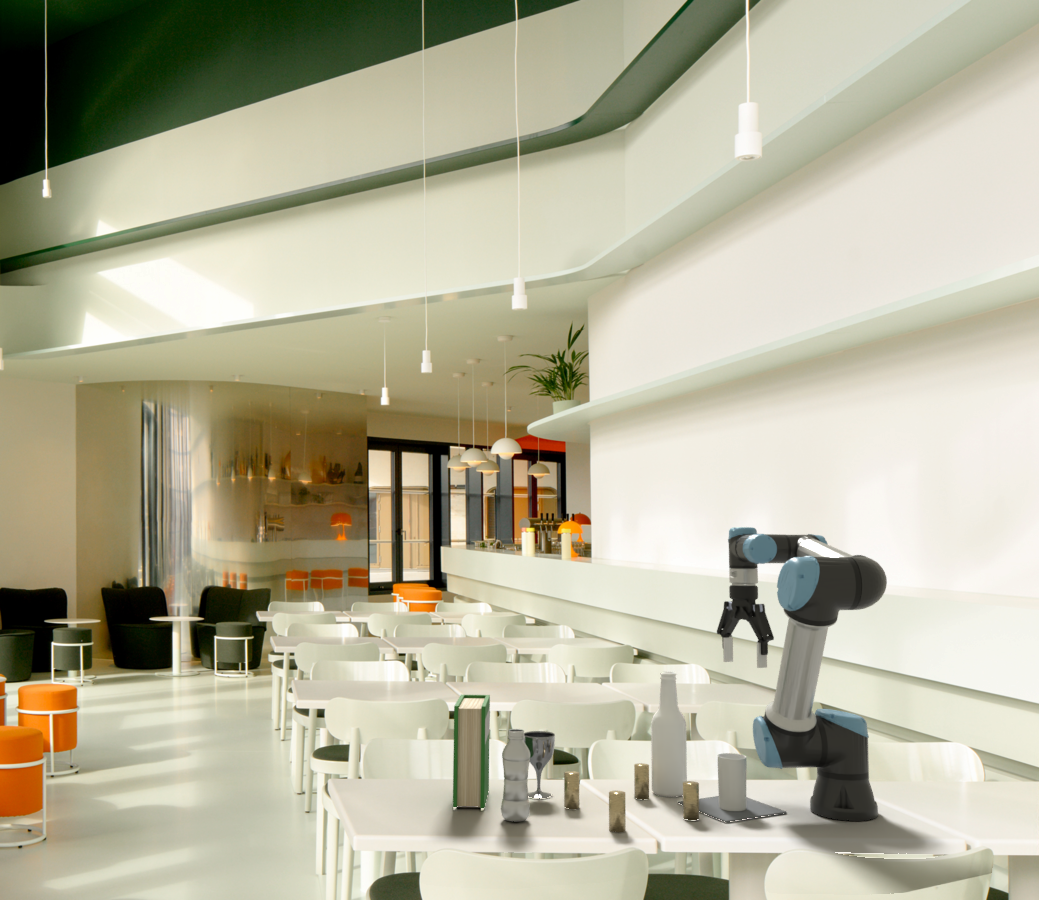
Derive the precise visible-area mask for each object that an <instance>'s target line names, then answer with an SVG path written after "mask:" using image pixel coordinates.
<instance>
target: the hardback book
mask: <svg viewBox="0 0 1039 900" xmlns="http://www.w3.org/2000/svg"><path fill="white" fill-rule="evenodd" d="M490 696H491V695H490V694H460V695H459V697H458V699H457V701H456V702H455V704H454V706H453V707H454V709H453V714H454V715H453V761H452V762H453V763H452V764H453V765H452V766H453V769H452V770H453V771H452V772H453V773H452V775H453V776H452V779H453V780H452V808H453V807H457V806H478V807H477V808H484V807H485V808H486V806H485V803H486V804H487V801H486V799H487V800H488V797H487V795H488V796H489V793H488V791H489V792H490V719H491V718H490V717H491V715H490V713H491V712H490V709H491V708H490V707H491V702H490V701H491V697H490Z"/></svg>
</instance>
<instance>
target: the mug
mask: <svg viewBox="0 0 1039 900" xmlns="http://www.w3.org/2000/svg"><path fill="white" fill-rule="evenodd" d="M717 784H718V785H717V786H718V789H717V790H718V796H719V807H720V808H721V809H723V810H726V811H735V812H736V811H744V810H745V809H746V797H747V755H744V754H740V753H733V752H725V753H724V752H723V753H719V754H717Z"/></svg>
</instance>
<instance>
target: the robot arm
mask: <svg viewBox="0 0 1039 900" xmlns="http://www.w3.org/2000/svg"><path fill="white" fill-rule="evenodd" d="M727 542H728V568H729V569H728V570H729V571H728V572H729V573H728V574H729V577H728V579H729V583H730V584H731V585H729V586H728V589H729V591H728V592H729V596H728V597H729V598H730V599H731V600H728V601H726V600H725V601H723V611H722V612H721V616H720V619H719V623H718V626H717V629H716V634H717V635H720V637H722V639H721V641H722V642H721V643H722V644H721V645H722V649H723V650H722V651H723V662H724V663H729V662H730V663H732V662H734V638H733V635H732V634H733V632H734V631H735V628H736V627H737V626H738V623H739V621H740V620H744V621H747V622H748V623H749V625H750V627H751V629H752V630H753V632H754V634H755V636H756V638H757V641H756V668H757V669H763V668H765V669H767V668H768V654H769V642H770V641H774V639H775V636H774V634H773V631H772V629H771V625H770V622H769V619H768V616H767V613H766V608H765V607H766V605H765V603H756V600H759V599H758V598H759V587H758V586H757V584H758V582H759V576H758V567H759V566H758V565H759V564H760V565H762V564H763V565H764V564H783V565H782V566H781V569H780V571H779V574H778V576H777V577H778V578H777V583H776V588H777V592H776V594H777V600H778V603H779V605H780V607H781V608H783V613H784V615H786V616H787V618H788V621H787V627H786V633H785V638H784V642H783V643H784V644H783V650H782V654H781V655H782V656H781V660H780V665H779V671H778V675H777V676H778V677H777V682H776V689H775V694H774V698H773V701H771V702H769V703H768V704H767V705H766V707H765V712H764V715H763V716H762V715H759V716H756V717H754V719H753V720H752V721H753V722H752V736H753V737H752V738H753V743H754V747H755V751H756V753H757V756H758V758H759V760H760V762H761V763H762V764H763V766H765V767H767V768H769V769H770V768H771V769H781V770H782V769H793V768H794V769H795V768H796V769H797V768H799V769H800V768H805V769H806V768H816V780H815V784H814V785H813V787H814V788H813V792H812V796H810V799H809V807H810V809H809V810H810V811H811V812H812V813H813V812H814V813H813V814H815V815H817V814H818V815H817V816H820V815H821V816H820V817H823V818H826V817H827V818H826V819H831V818H832V820H837V819H838V820H840V821H846V820H849V822H861V821H862V822H864V820H865V821H871V820H874V819H877V818H878V816H879V807H878V803H877V801H876V799H875V796H874V791H873V790H872V786H871V782H870V775H869V774H870V773H869V772H870V771H869V770H870V768H869V767H870V764H869V734H868V733H869V732H868V725H867V724H868V723H867V721H866V719H865V718H863V717H862V716H861V715H858V714H855V713H852V712H846V711H842V710H835V709H830V708H817V709H815V712H814V711H812V710H813V705H814V701H815V696H816V691H817V685H818V682H819V676H820V675H819V674H820V669H821V665H822V662H823V661H822V660H823V657H824V656H823V655H824V650H825V645H826V640H827V636H828V630H829V627H831V626H833V625H835V624H836V623H837V622H838V617H839V614H840V613H839V612H840V611H858V610H864V609H867V608H870V607H871V606H874V605H876V603H878V602H879V601H880V600H881V599H882V597H883V596H884V594H885V592H886V590H887V583H888V581H887V579H888V578H887V575H886V572H885V570H884V569H883V567H882V566H881V565H880V563H879V562H877V561H875V560H874V559H873V558H870V557H868V556H865V555H862V554H853V555H852V554H850V553H848V552H845V551H843V550H840V549H838V548H837V547H834V546H832V545H829V544H828V542H827V540H826V538H825V537H824V536H823V535H819V534H812V533H811V534H810V533H808V534H773V533H771V534H768V533H767V534H765V533H758V532H757V529H756V528H755V527H749V526H748V527H747V526H746V527H745V526H744V527H742V526H741V527H731V528H729V529H728V539H727ZM870 819H871V820H870Z"/></svg>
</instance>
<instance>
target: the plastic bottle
mask: <svg viewBox="0 0 1039 900" xmlns="http://www.w3.org/2000/svg"><path fill="white" fill-rule="evenodd" d="M524 733H525V730H524V729H521V728H511V729H508V732H507V739H508V742H507V743H506V745H505V746H504V748H503V751H502V753H501V754H502V755H501V759H502V766H503V767H502V768H503V778H504V779H503V783H504V784H503V794H502V799H501V805H500V812H501V816H502V818H503V820H505V821H507V822H508V821H509V822H513V821H514V822H515V823H517V822H518V823H519V822H524V821H526V820H528V818H529V816H530V811H531V807H530V801H529V798H528V793H529V791H528V778H529V768H530V751H529V749H528V747H527V745H526V744H525V743H524V741H523V739H525V736H524Z"/></svg>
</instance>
